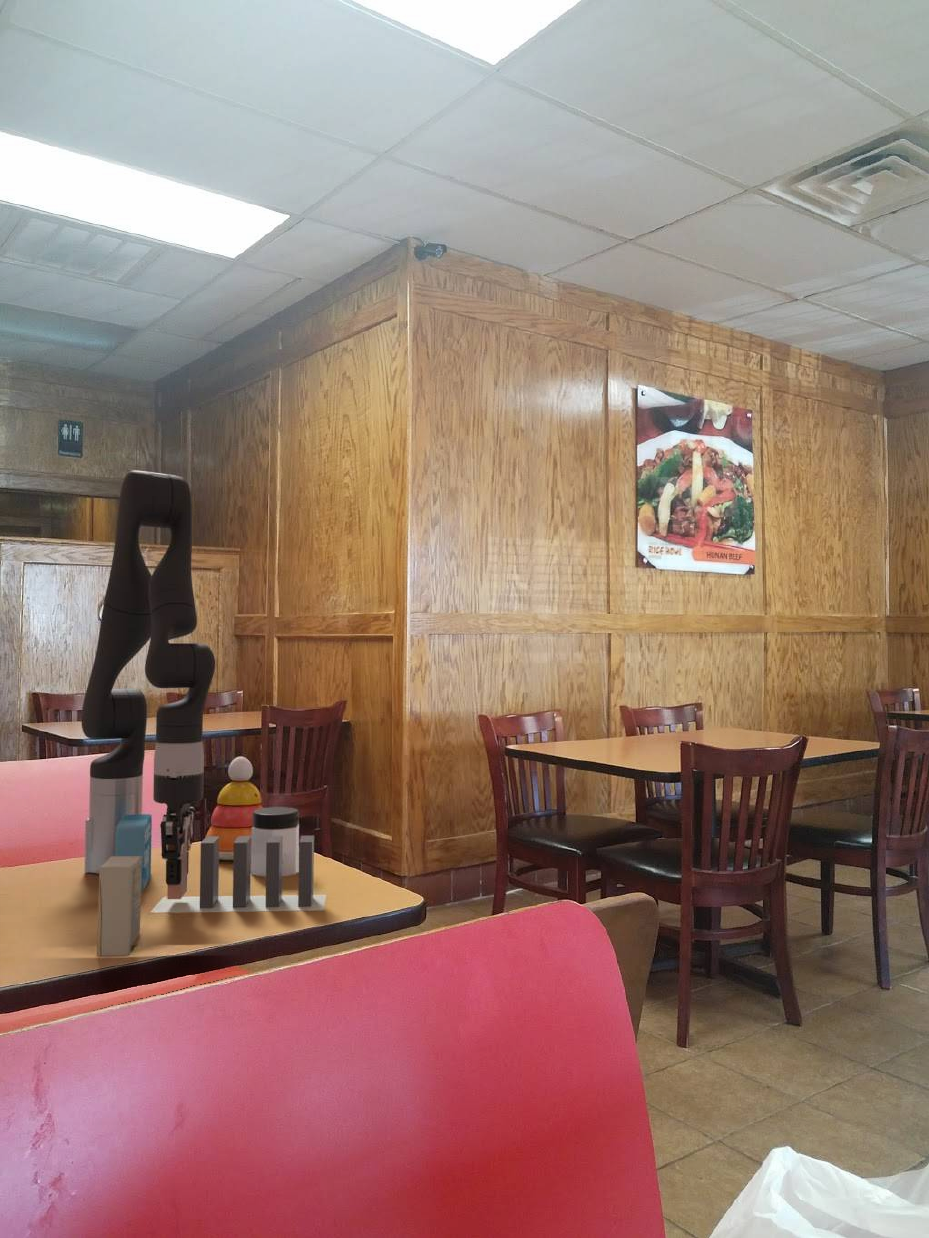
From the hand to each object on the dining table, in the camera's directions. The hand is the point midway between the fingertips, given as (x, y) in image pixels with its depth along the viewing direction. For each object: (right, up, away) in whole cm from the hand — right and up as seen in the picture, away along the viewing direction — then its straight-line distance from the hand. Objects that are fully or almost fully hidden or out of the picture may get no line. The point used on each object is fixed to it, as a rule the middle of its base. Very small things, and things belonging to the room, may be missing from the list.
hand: (177, 879), depth 150 cm
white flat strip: (+10, -5, +1) cm, 11 cm away
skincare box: (-2, -5, -18) cm, 19 cm away
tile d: (+15, -4, +1) cm, 15 cm away
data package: (-11, -6, +13) cm, 18 cm away
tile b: (+5, -4, 0) cm, 6 cm away
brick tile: (0, -2, 0) cm, 2 cm away
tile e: (+20, -4, +2) cm, 20 cm away
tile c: (+10, -4, +1) cm, 11 cm away
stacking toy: (0, -6, +39) cm, 40 cm away
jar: (+11, -6, +22) cm, 25 cm away
